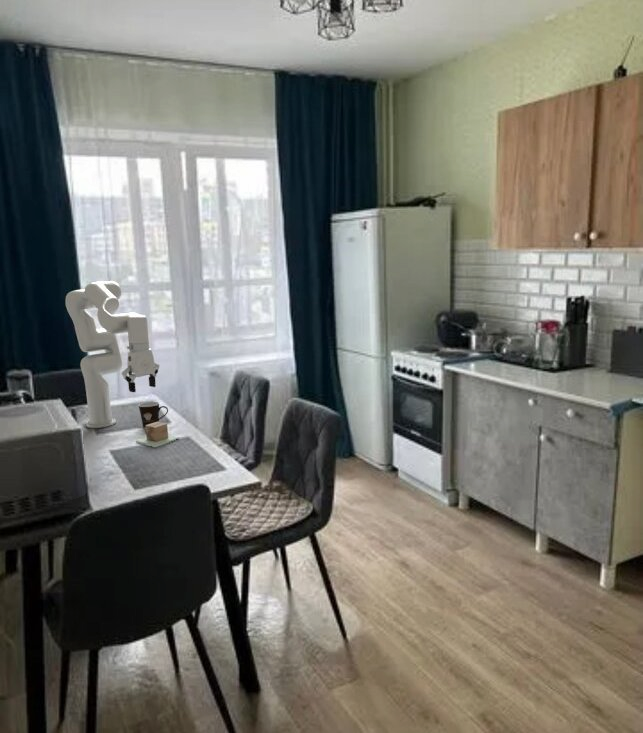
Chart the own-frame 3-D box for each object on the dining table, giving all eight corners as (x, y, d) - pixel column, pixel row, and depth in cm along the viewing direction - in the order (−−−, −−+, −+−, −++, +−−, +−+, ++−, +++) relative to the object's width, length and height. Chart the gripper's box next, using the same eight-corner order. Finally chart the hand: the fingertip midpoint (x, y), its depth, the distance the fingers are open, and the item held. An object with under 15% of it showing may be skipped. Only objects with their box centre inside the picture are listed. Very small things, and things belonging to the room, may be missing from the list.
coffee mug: (136, 428, 257) (134, 406, 255) (149, 422, 265) (147, 401, 263) (158, 430, 253) (156, 407, 251) (170, 424, 261) (168, 402, 259)
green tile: (136, 442, 238) (135, 440, 238) (160, 434, 247) (160, 432, 247) (155, 447, 231) (155, 445, 230) (179, 439, 240) (179, 437, 240)
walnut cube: (146, 439, 238) (145, 425, 237) (158, 435, 243) (157, 421, 242) (156, 442, 235) (154, 427, 233) (168, 438, 239) (167, 423, 238)
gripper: (126, 351, 223) (130, 395, 226) (163, 344, 237) (166, 385, 240) (114, 349, 227) (118, 392, 231) (150, 342, 241) (154, 383, 244)
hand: (142, 389), depth 235 cm, fingers open, 9 cm apart
